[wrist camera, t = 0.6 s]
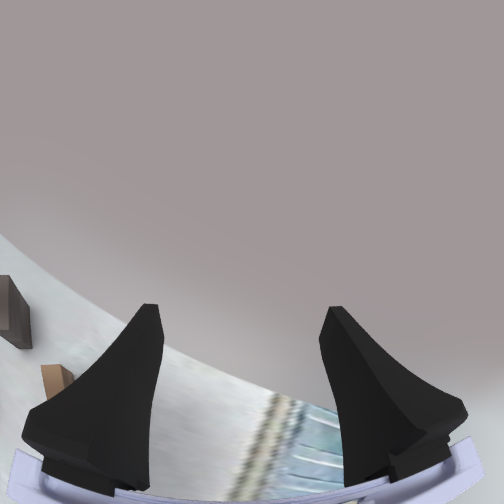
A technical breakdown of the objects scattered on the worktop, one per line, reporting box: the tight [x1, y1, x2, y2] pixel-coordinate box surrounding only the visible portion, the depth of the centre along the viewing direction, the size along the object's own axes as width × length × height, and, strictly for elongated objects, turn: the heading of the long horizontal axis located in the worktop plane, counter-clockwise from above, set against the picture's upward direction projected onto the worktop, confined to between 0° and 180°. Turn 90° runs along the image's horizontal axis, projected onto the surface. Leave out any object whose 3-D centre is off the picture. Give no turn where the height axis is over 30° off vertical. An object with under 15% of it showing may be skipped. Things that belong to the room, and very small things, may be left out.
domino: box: [41, 364, 74, 400], centre depth 16 cm, size 4×2×8 cm, turn 19°
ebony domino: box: [0, 275, 32, 349], centre depth 17 cm, size 4×2×8 cm, turn 19°
